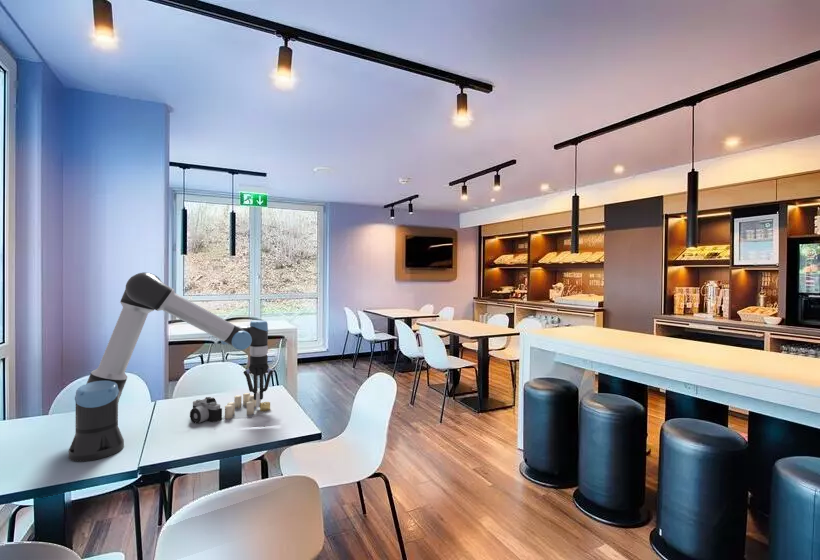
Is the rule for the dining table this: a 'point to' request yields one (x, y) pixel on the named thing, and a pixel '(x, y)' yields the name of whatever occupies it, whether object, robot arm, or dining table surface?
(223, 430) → the dining table surface
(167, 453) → the dining table surface
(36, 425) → the dining table surface
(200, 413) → the camera
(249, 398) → the board
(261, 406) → the nut
